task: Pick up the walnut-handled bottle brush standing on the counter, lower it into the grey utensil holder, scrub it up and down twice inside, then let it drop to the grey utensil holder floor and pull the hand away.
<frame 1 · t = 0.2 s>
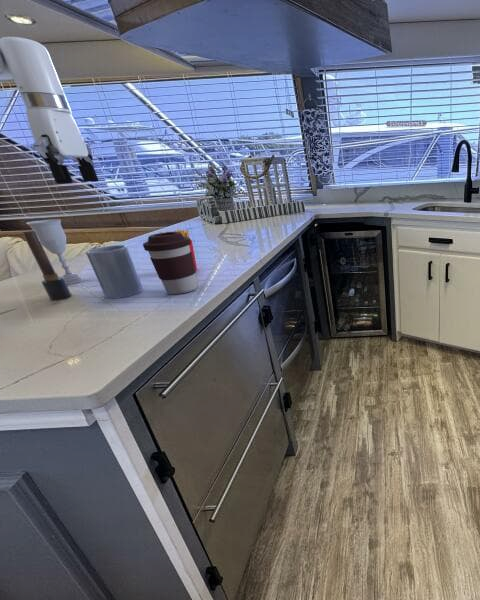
hand: (79, 182, 82), 28 cm above the worktop, tool pointing down, fingers open, 9 cm apart
french fries: (183, 272, 101), on the worktop
brush: (61, 297, 84), on the worktop
coffee cup: (183, 290, 86), on the worktop
chalice: (72, 282, 97), on the worktop
grey utensil holder: (124, 292, 86), on the worktop
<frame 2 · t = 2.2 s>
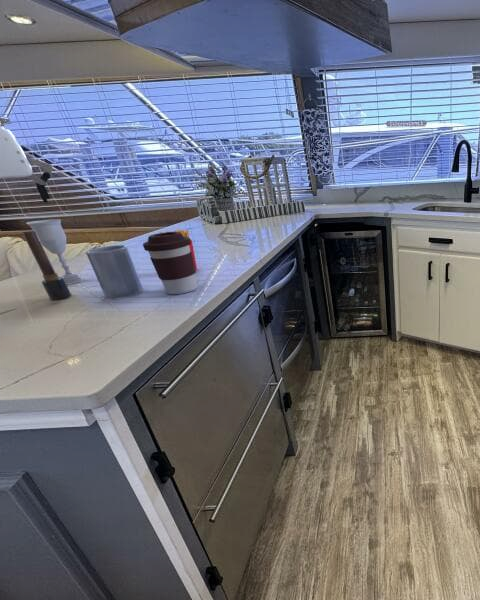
hand: (17, 204, 75), 24 cm above the worktop, tool pointing down, fingers open, 9 cm apart
nothing on the worktop moved.
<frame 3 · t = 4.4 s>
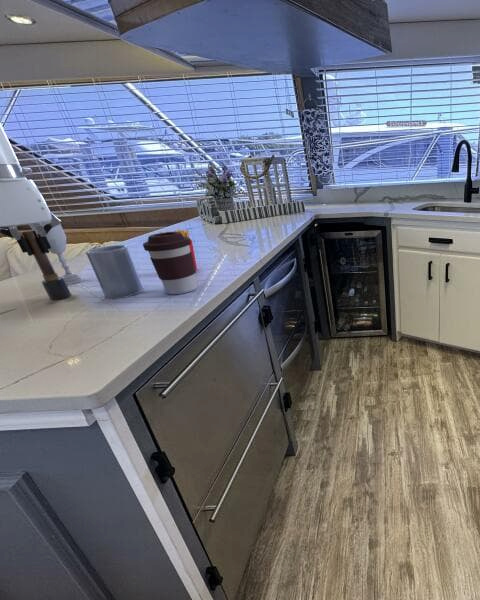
hand: (39, 252, 80), 12 cm above the worktop, tool pointing down, fingers closed on brush, 2 cm apart
brush: (61, 297, 84), on the worktop, touching gripper
everything else where it was.
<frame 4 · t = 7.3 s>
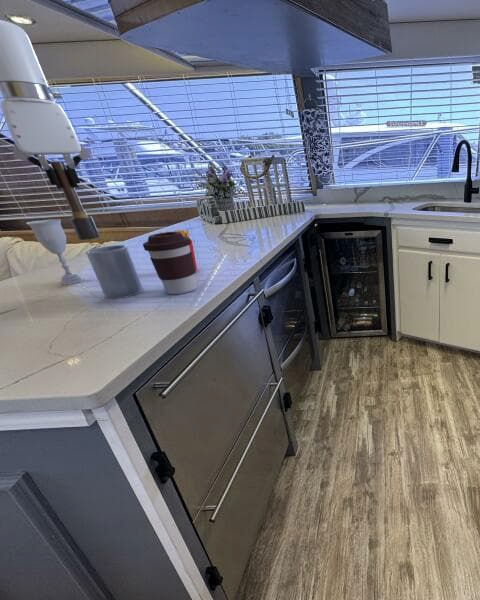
hand: (67, 187, 75), 27 cm above the worktop, tool pointing down, fingers closed on brush
brush: (89, 238, 80), point 15 cm above the worktop, touching gripper
everything else where it was.
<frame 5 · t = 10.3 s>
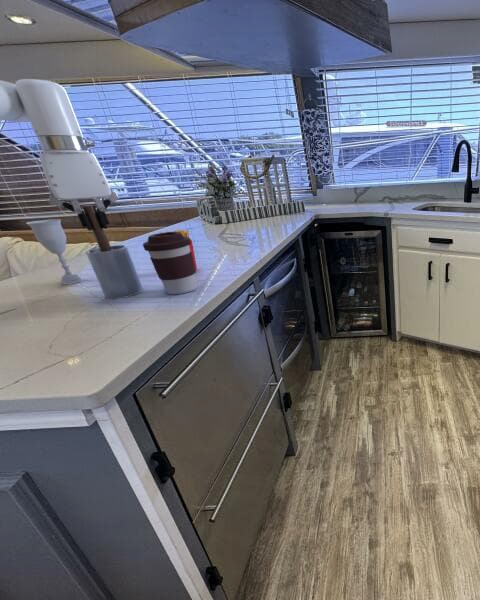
hand: (97, 228, 79), 17 cm above the worktop, tool pointing down, fingers closed on brush
brush: (116, 274, 84), point 5 cm above the worktop, touching gripper
everything else where it was.
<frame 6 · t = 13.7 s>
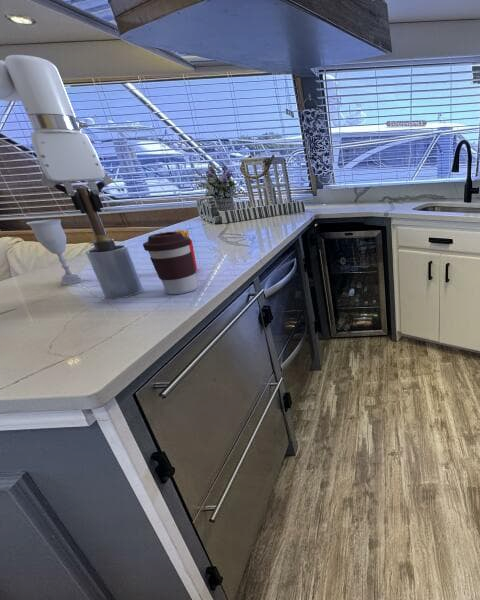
hand: (91, 211, 77), 21 cm above the worktop, tool pointing down, fingers closed on brush
brush: (110, 259, 82), point 9 cm above the worktop, touching gripper
everything else where it was.
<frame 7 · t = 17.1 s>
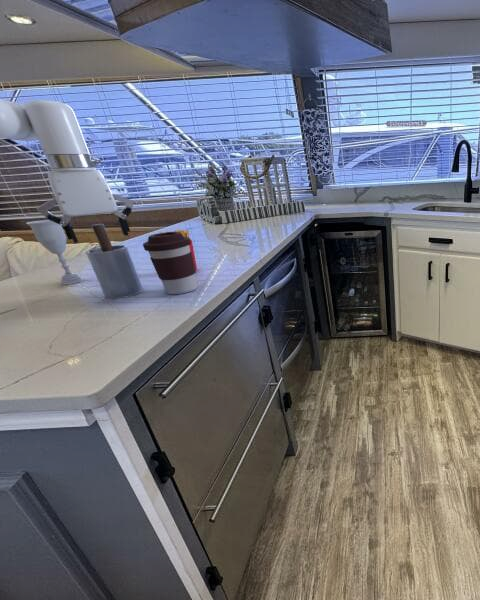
hand: (102, 238, 80), 15 cm above the worktop, tool pointing down, fingers open, 9 cm apart
brush: (124, 290, 86), point 1 cm above the worktop, touching grey utensil holder
everything else where it was.
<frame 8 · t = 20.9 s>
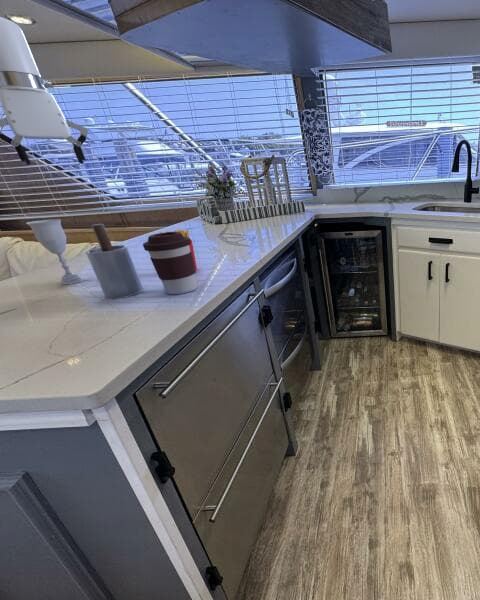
hand: (56, 163, 82), 32 cm above the worktop, tool pointing down, fingers open, 9 cm apart
nothing on the worktop moved.
at the end: brush 0.1 cm off-centre in the grey utensil holder, point 0.6 cm above the grey utensil holder's base; the gripper is holding nothing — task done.
